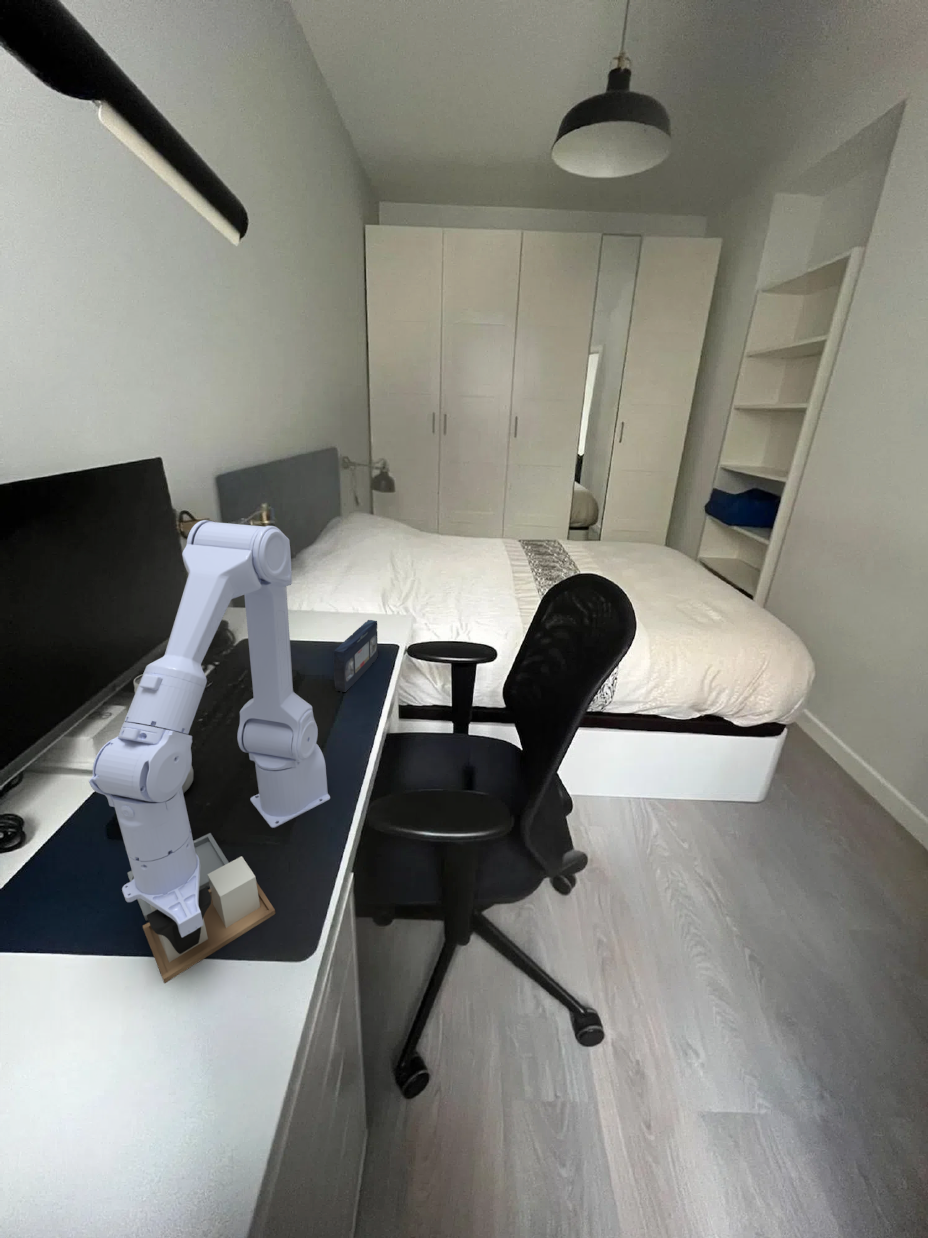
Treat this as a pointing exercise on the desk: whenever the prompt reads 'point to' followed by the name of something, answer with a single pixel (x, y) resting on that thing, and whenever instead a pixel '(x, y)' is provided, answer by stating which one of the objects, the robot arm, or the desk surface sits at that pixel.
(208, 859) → the charcoal tray
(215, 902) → the stone
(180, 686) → the robot arm
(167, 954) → the white block
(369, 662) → the vhs cassette tape
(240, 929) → the walnut tray
